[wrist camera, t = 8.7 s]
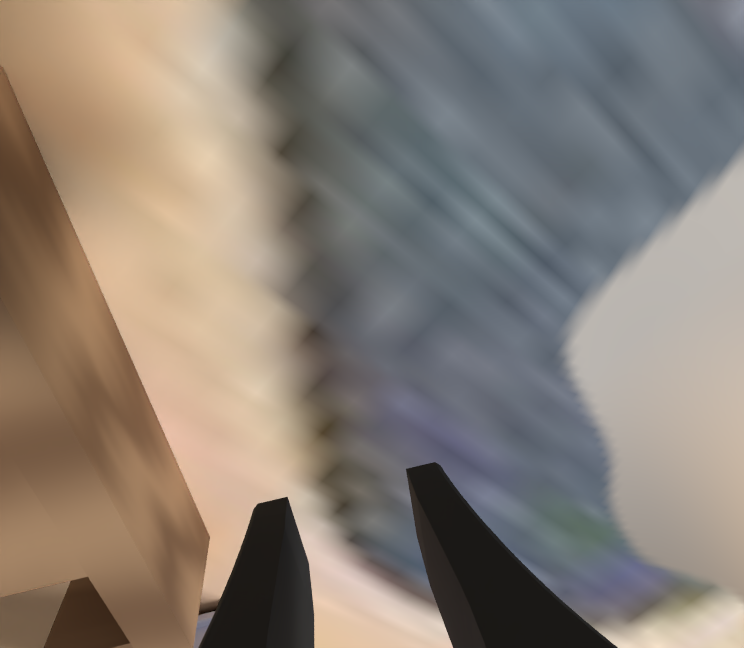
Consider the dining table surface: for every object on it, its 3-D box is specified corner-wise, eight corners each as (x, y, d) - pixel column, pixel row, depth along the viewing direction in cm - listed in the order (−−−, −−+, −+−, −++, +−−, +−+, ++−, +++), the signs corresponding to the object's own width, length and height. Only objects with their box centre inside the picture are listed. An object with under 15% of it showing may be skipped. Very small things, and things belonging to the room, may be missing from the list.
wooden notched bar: (209, 537, 23) (193, 649, 18) (96, 564, 22) (51, 685, 18) (2, 67, 14) (-127, 66, 10) (-191, 99, 14) (-416, 113, 9)
